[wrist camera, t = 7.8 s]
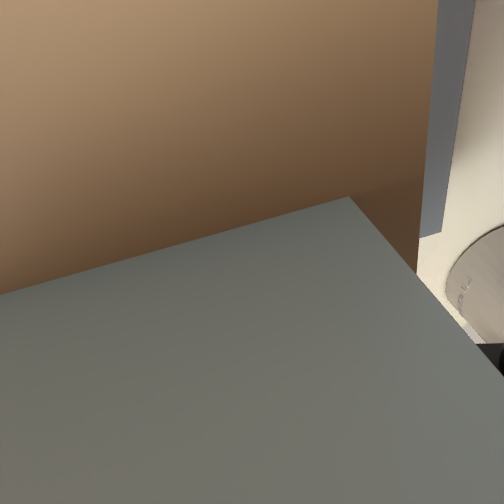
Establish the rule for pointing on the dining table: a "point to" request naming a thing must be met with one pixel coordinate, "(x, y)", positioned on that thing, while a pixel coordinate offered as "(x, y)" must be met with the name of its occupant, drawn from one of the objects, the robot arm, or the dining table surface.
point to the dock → (444, 106)
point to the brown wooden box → (203, 122)
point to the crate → (248, 377)
